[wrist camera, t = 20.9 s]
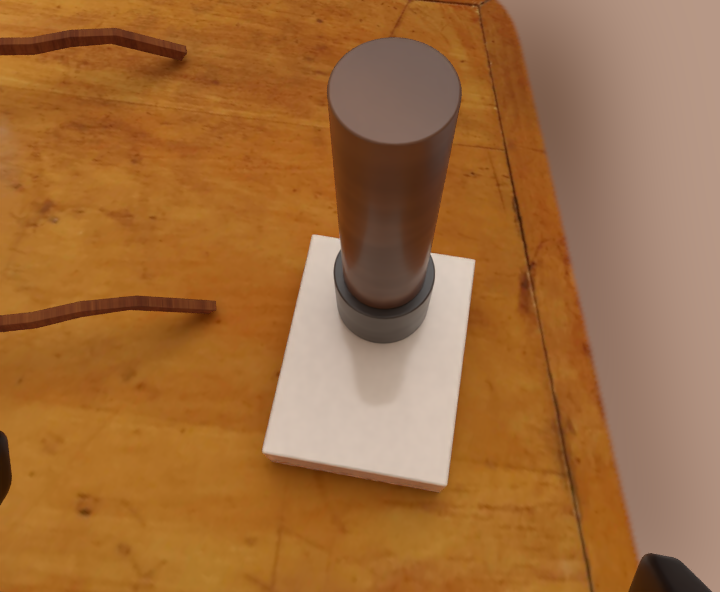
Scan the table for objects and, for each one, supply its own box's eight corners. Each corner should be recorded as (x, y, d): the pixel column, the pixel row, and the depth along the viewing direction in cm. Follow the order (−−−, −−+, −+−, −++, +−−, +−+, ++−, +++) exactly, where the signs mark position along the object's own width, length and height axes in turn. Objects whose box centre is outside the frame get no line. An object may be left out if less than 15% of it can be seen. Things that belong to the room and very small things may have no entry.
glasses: (-106, 100, 29) (-198, 12, 24) (189, 53, 30) (155, -42, 25) (-133, 386, 24) (-254, 344, 19) (221, 320, 25) (187, 264, 20)
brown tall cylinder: (393, 362, 22) (416, 188, 12) (318, 309, 23) (277, 103, 12) (446, 290, 23) (508, 73, 13) (372, 242, 24) (375, 0, 13)
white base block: (440, 493, 22) (447, 486, 20) (269, 461, 23) (260, 452, 21) (468, 281, 25) (475, 258, 23) (316, 256, 26) (312, 233, 24)
